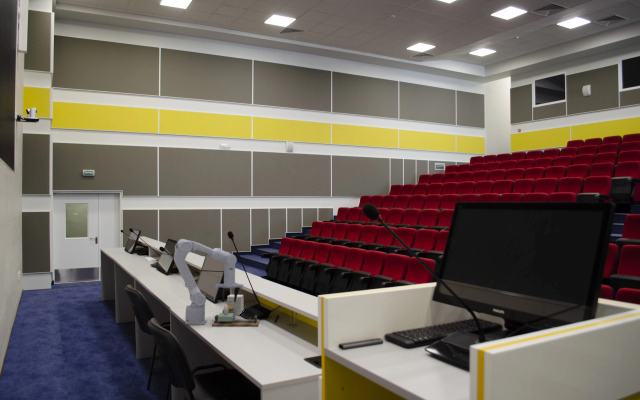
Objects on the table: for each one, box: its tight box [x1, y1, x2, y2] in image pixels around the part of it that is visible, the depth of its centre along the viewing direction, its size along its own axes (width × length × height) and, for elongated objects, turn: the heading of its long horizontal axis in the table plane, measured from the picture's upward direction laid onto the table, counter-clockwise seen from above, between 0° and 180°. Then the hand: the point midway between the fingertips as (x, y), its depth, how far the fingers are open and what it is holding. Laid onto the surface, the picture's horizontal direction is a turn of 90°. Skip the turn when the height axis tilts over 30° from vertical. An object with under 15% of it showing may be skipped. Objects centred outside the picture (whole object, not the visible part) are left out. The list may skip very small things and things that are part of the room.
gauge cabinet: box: [221, 309, 236, 319], centre depth 243 cm, size 6×6×5 cm
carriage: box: [218, 304, 234, 321], centre depth 234 cm, size 7×7×7 cm
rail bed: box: [211, 314, 260, 328], centre depth 234 cm, size 23×10×4 cm, turn 93°
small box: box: [226, 294, 245, 317], centre depth 254 cm, size 8×6×10 cm
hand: (229, 301), depth 243 cm, fingers open, 6 cm apart
